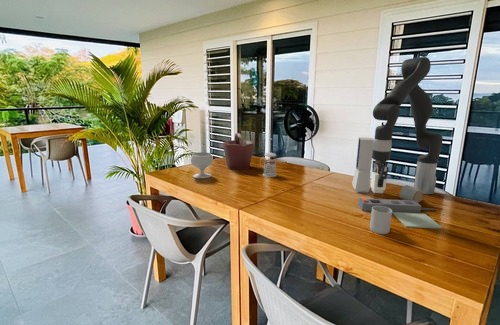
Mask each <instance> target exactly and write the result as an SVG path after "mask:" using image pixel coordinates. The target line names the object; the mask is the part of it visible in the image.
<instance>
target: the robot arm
mask: <svg viewBox="0 0 500 325" xmlns="http://www.w3.org/2000/svg"><path fill="white" fill-rule="evenodd" d="M400 69H401V75H402V79H403V80H402V81H400V82H398V83H397V84H396V85H395V86H393V88H392V89H391V91H390V92H389V93H388V95H387V96H385V97H384V98H383V99H382V100H380V101H379V102H378V103H377V104H376V105H375V106H374V108H373V110H372V116H373V118H374V119H375V120H377V121H386V123H385V124H383V125H378V126H376V127H375V130H374V138H373V139H374V144H373V153H372V164H371V170H372V171H371V173H372V172H377V174H378V187H383V182H384V179H386V178H388V177H387V176H388V173H389V168H390V167H389V166H387V161H388V162H389V161H390V159H391V155H392V147H393V146H392V143H393V142H392V140H393V133H394V132H393V131H394V128H395V126H396V124H397V121H398V118H399V116H400V111H401V110H400V107H401V106H402V105H403V103H404V101H405V100H406V99H407V96H408V99H409V104H410V109H411V113H412V118H413V123H414V129H415V138H416V139H415V140H416V145H417V147H418V148H419V149H422V150H428V153H426V154H421V155H419V156H418V157H417V162H416V169H415V177H414V183H413V188H416V189H419V190H420V191H422V193H423V195H431V194H432V195H434V194H435V190H436V184H437V176H436V173H437V167H438V160H439V157H440V156H441V150H442V146H443V141H444V140H443V135H442V134H441V133H437V132H429V131H427V123H428V121H429V120H430V119H431V117H432V115H433V112H434V108H433V102H432V98H431V96H430V95H429V94H428V93H427V92H426V91H425V90H424V88H422V87H421V86H420V83H421V81H423V79H424V80H425V78H426V77H427V76H428V74H429V73H430V71H431V60H430V59H429V57H427V56H419V57H414V58H407V59H404V60H403V61H402V64H401V67H400ZM382 175H383V176H382ZM386 180H387V179H386Z"/></svg>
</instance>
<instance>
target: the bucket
mask: <svg viewBox="0 0 500 325" xmlns="http://www.w3.org/2000/svg"><path fill="white" fill-rule="evenodd" d="M222 147H223V152H224V156H225V162H226V166H227V168H228V169H230V170H237V171H238V170H239V171H242V170H248V169H250V166H251V162H252V156H253V152H254V141H253V140H252V141H251V140H246V139H244V137H243V135H242V134H241V133H239V132H237V133H235V134H234V140H233V139H232V140H226V141H223V142H222Z"/></svg>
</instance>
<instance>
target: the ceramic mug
mask: <svg viewBox="0 0 500 325" xmlns="http://www.w3.org/2000/svg"><path fill="white" fill-rule="evenodd" d="M423 195H424V194H423V193H422V191H420V190H419V189H416V188H414V186H412V185H411V186H410V185H408V184H405V185H403V186H402V187H401V189H400V190H399V198H400V200H414V201H416V202H417V203H418V204H420V202H421V201H422V200H424V199H423V197H424V196H423Z"/></svg>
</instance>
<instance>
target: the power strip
mask: <svg viewBox="0 0 500 325" xmlns="http://www.w3.org/2000/svg"><path fill="white" fill-rule="evenodd" d="M357 206H358V207H359V209H360V210H361V211H363V212H372V207H373V206H384V207H387V208H390V209H391V210H392V212H404V213H422V212H421V211H425V212H426V211H427V212H429V211H430V212H435V211H436V209H435V208H424V207H423V208H422V205H421V204H420V203H417V202H416V201H414V200H404V199H386V198H384V199H383V198H358V200H357Z"/></svg>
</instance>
